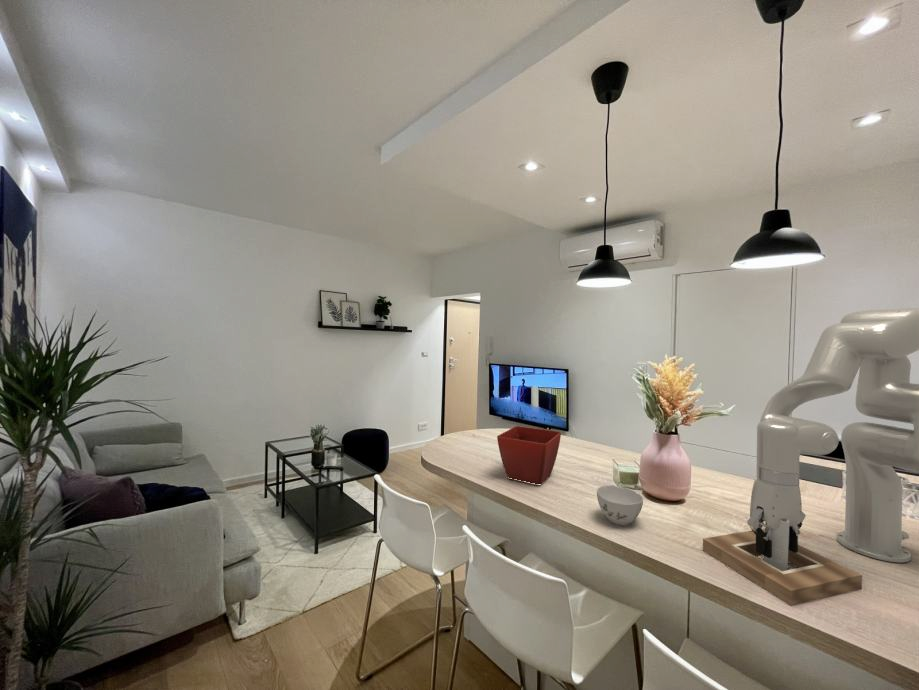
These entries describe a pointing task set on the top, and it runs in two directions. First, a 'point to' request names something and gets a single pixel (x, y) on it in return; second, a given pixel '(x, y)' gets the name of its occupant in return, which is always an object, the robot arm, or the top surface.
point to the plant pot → (528, 453)
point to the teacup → (619, 503)
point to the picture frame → (792, 585)
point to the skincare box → (779, 546)
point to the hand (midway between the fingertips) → (776, 551)
